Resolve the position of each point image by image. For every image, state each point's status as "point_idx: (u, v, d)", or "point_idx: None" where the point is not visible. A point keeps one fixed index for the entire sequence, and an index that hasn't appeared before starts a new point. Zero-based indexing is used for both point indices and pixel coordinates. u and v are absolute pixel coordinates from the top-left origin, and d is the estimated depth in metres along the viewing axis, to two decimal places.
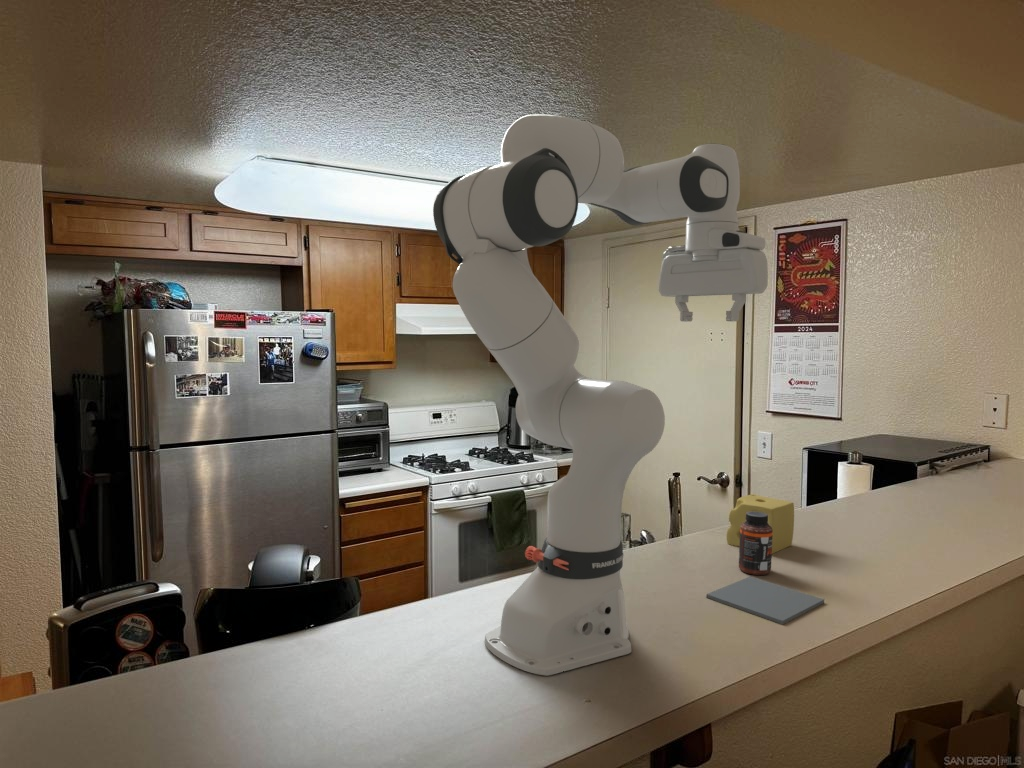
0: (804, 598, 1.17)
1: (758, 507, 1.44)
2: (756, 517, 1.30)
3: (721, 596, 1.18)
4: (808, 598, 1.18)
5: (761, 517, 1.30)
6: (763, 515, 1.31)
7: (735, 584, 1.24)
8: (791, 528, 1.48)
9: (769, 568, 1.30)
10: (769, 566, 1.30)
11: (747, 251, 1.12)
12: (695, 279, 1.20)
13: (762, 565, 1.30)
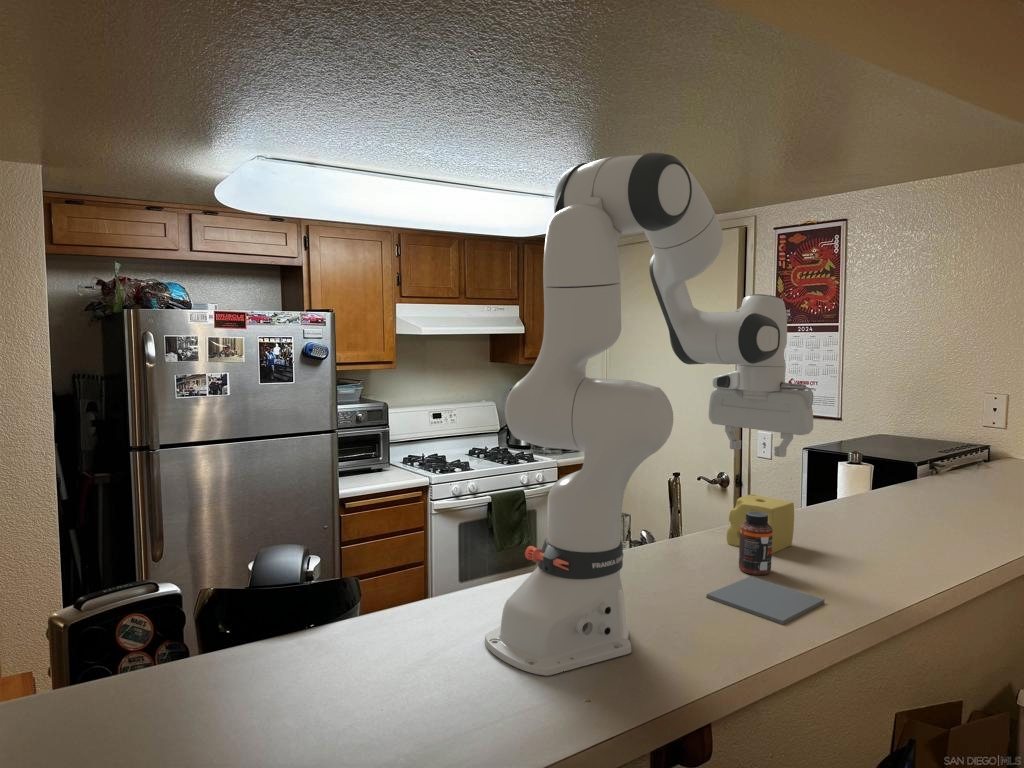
0: (804, 598, 1.17)
1: (758, 507, 1.44)
2: (756, 517, 1.30)
3: (721, 596, 1.18)
4: (808, 598, 1.18)
5: (761, 517, 1.30)
6: (763, 515, 1.31)
7: (735, 584, 1.24)
8: (791, 528, 1.48)
9: (769, 568, 1.30)
10: (769, 566, 1.30)
11: None
12: None
13: (762, 565, 1.30)
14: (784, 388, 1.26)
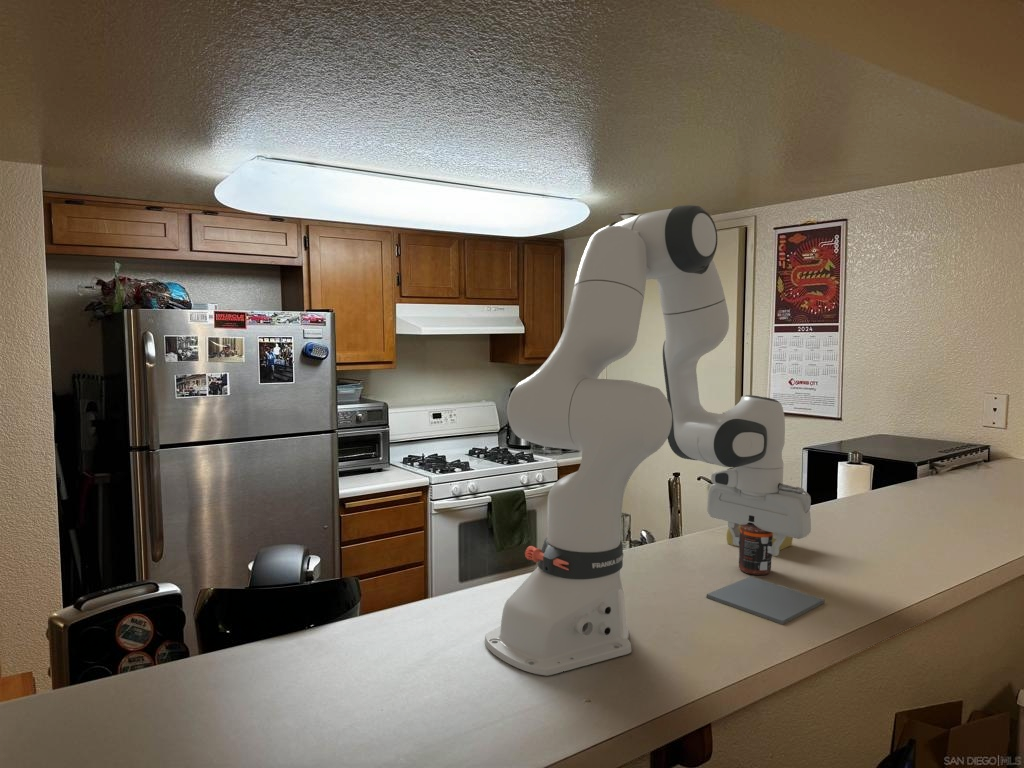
0: (804, 598, 1.17)
1: None
2: None
3: (721, 596, 1.18)
4: (808, 598, 1.18)
5: None
6: None
7: (735, 584, 1.24)
8: None
9: (769, 568, 1.30)
10: (769, 566, 1.30)
11: None
12: None
13: (762, 565, 1.30)
14: (782, 490, 1.27)
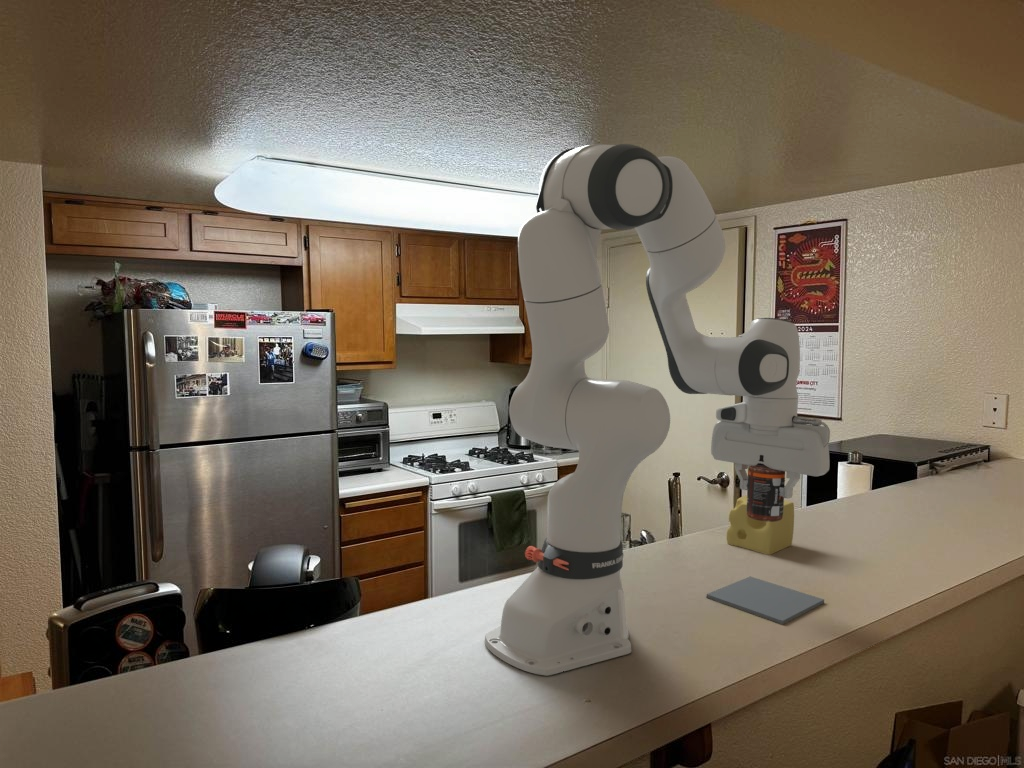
0: (804, 598, 1.17)
1: None
2: None
3: (721, 596, 1.18)
4: (808, 598, 1.18)
5: None
6: None
7: (735, 584, 1.24)
8: (791, 528, 1.48)
9: (781, 514, 1.16)
10: (781, 512, 1.16)
11: None
12: None
13: (774, 510, 1.15)
14: (797, 423, 1.13)
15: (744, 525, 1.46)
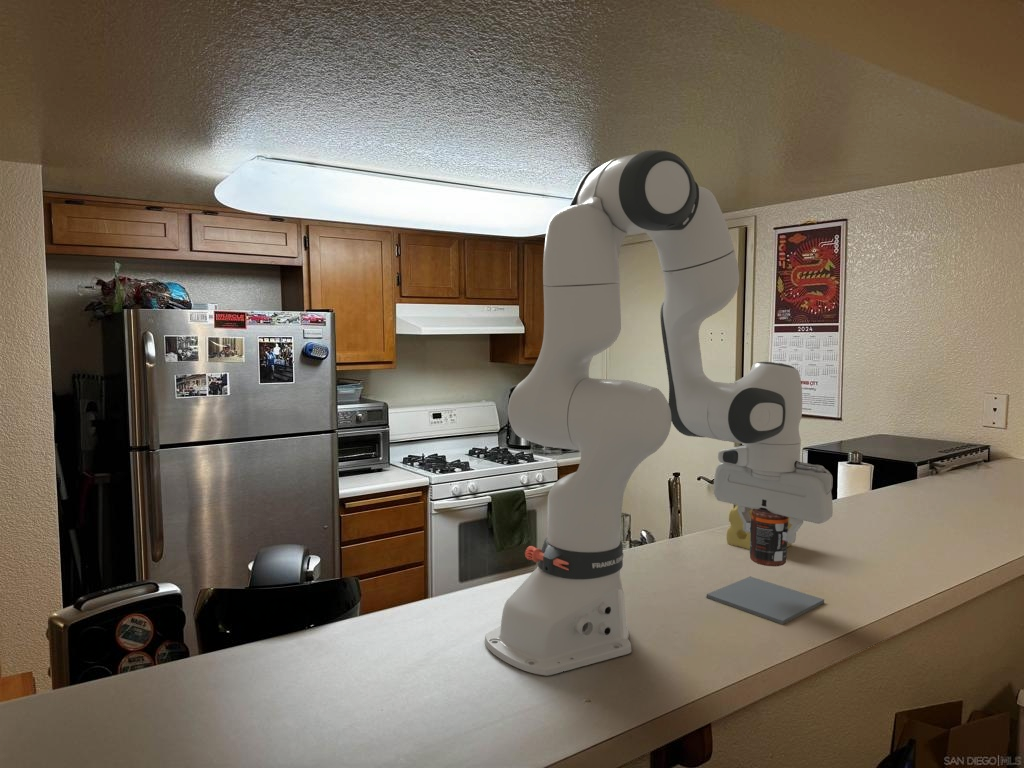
0: (804, 598, 1.17)
1: None
2: None
3: (721, 596, 1.18)
4: (808, 598, 1.18)
5: None
6: None
7: (735, 584, 1.24)
8: None
9: (784, 558, 1.15)
10: (784, 556, 1.15)
11: None
12: None
13: (777, 555, 1.15)
14: (799, 468, 1.12)
15: None
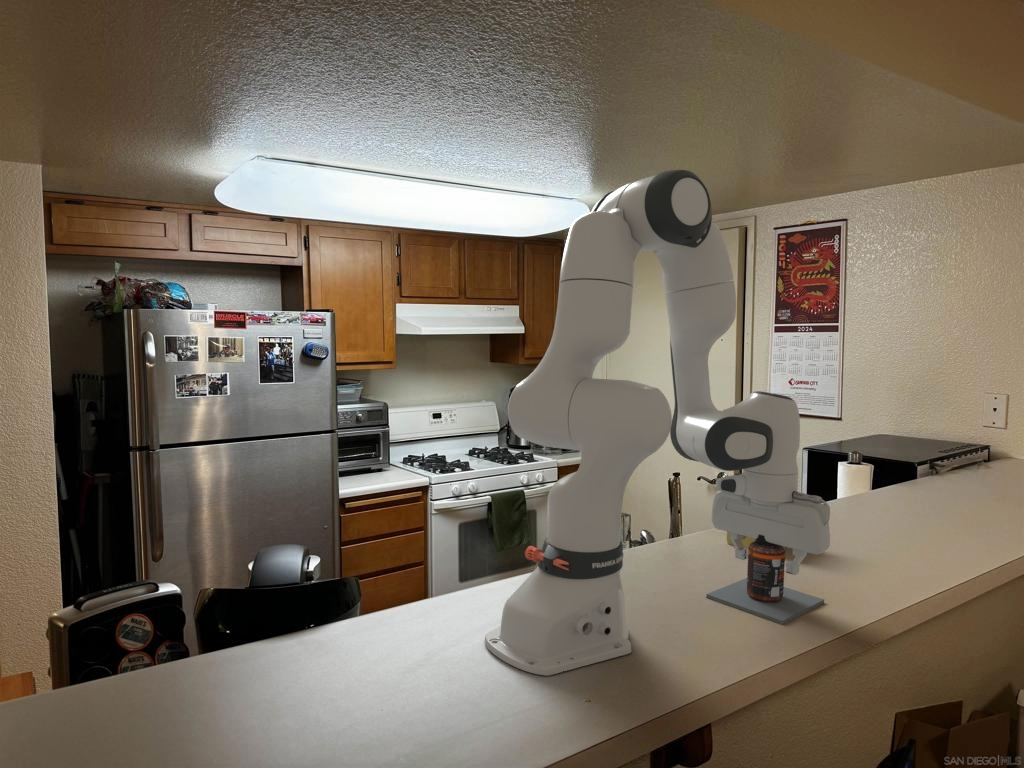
0: (804, 598, 1.17)
1: None
2: None
3: (721, 596, 1.18)
4: (808, 598, 1.18)
5: None
6: None
7: (735, 584, 1.24)
8: None
9: (781, 594, 1.16)
10: (781, 592, 1.16)
11: None
12: None
13: (774, 591, 1.15)
14: (797, 498, 1.12)
15: None
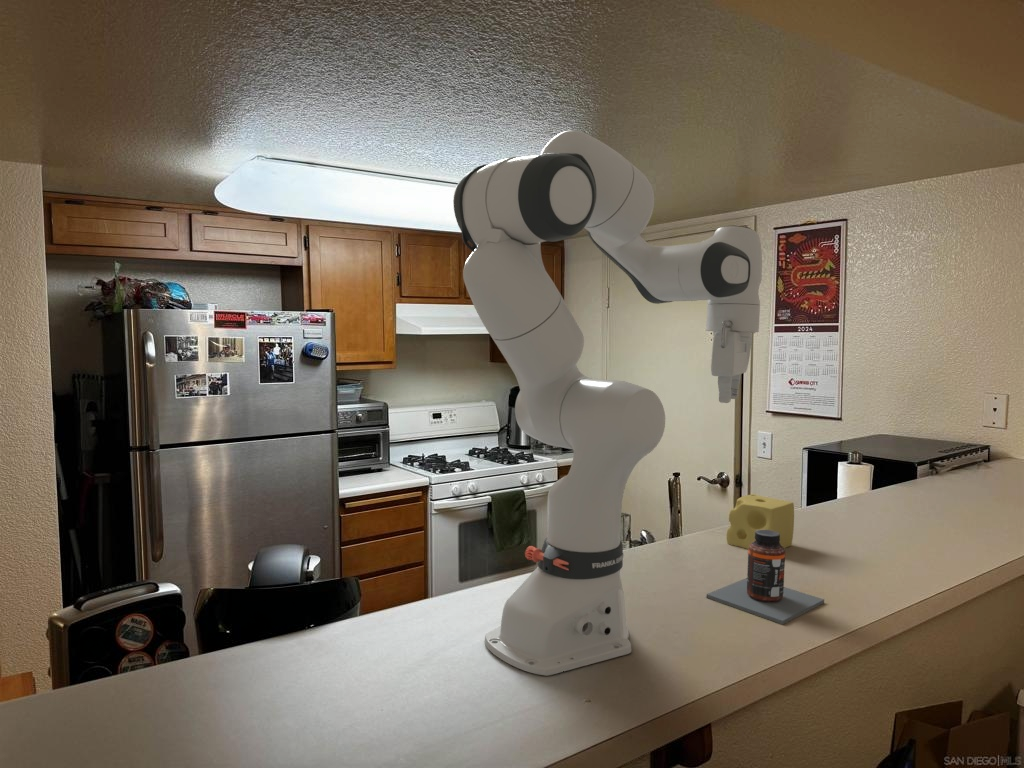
0: (804, 598, 1.17)
1: (758, 507, 1.44)
2: (767, 537, 1.15)
3: (721, 596, 1.18)
4: (808, 598, 1.18)
5: (772, 537, 1.15)
6: (774, 534, 1.16)
7: (735, 584, 1.24)
8: (791, 528, 1.48)
9: (781, 594, 1.16)
10: (781, 592, 1.16)
11: None
12: (740, 359, 1.18)
13: (774, 591, 1.15)
14: None
15: (744, 525, 1.46)
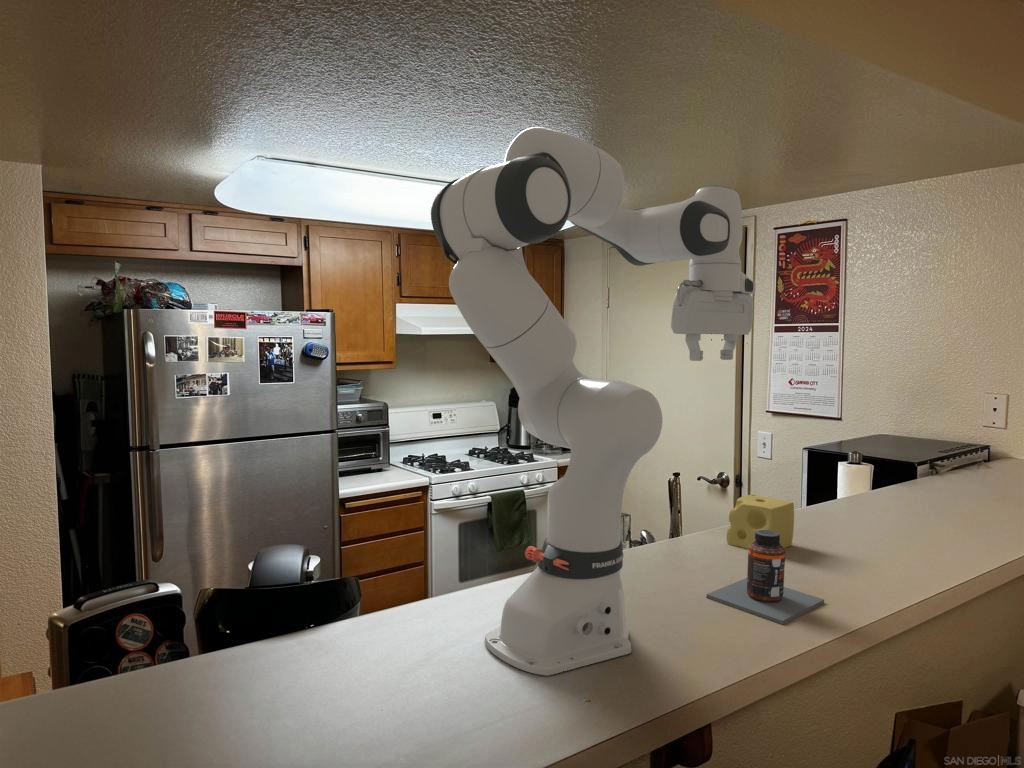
0: (804, 598, 1.17)
1: (758, 507, 1.44)
2: (767, 537, 1.15)
3: (721, 596, 1.18)
4: (808, 598, 1.18)
5: (772, 537, 1.15)
6: (774, 534, 1.16)
7: (735, 584, 1.24)
8: (791, 528, 1.48)
9: (781, 594, 1.16)
10: (781, 592, 1.16)
11: (752, 298, 1.25)
12: (715, 318, 1.19)
13: (774, 591, 1.15)
14: None
15: (744, 525, 1.46)
